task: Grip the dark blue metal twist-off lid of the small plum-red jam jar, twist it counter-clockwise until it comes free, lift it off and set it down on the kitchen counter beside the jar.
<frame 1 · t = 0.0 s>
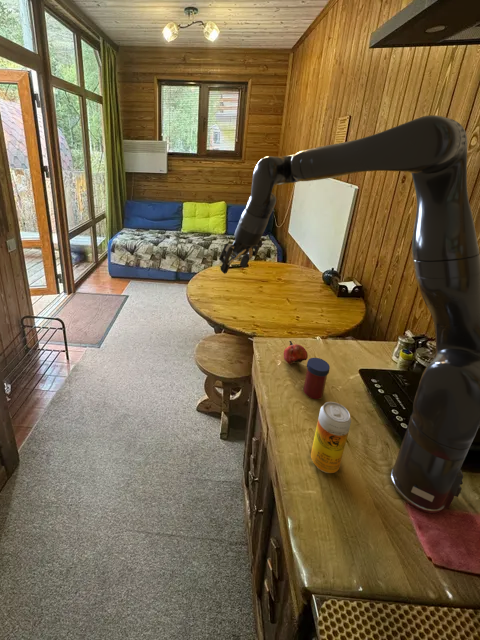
hand: (233, 268, 96), 31 cm above the kitchen counter, tool tilted 20°, fingers open, 8 cm apart
jar: (313, 392, 90), on the kitchen counter
beer can: (324, 462, 70), on the kitchen counter
lid: (318, 365, 87), point 10 cm above the kitchen counter, screwed on, not yet turned
pomegranate: (294, 364, 102), on the kitchen counter
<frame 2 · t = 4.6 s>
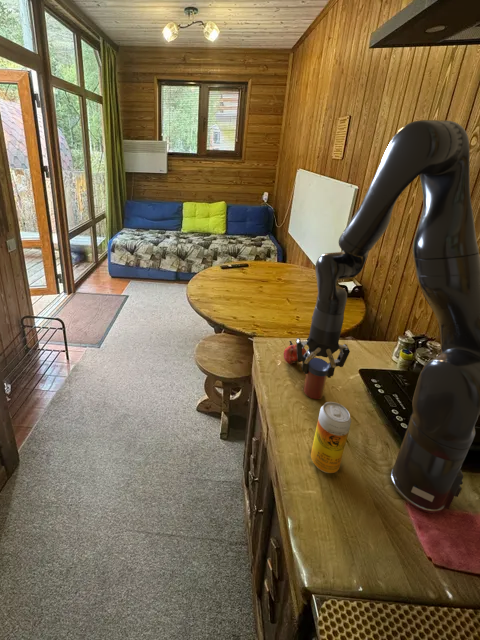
hand: (316, 373, 88), 7 cm above the kitchen counter, tool pointing down, fingers closed on lid, 5 cm apart
lid: (318, 365, 87), point 10 cm above the kitchen counter, screwed on, not yet turned, touching gripper
everything else where it was.
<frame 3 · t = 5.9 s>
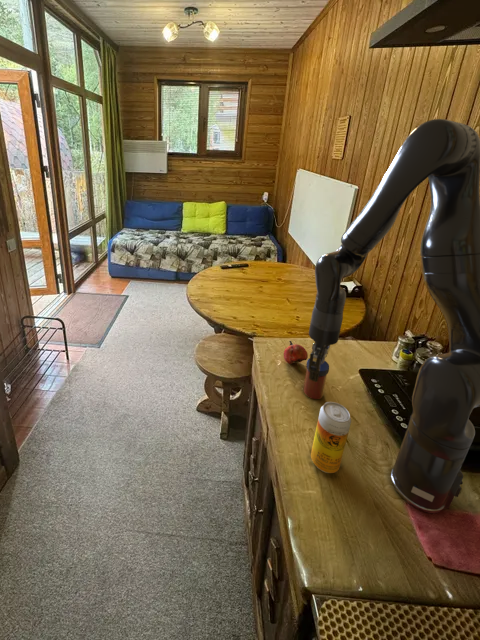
hand: (316, 373, 88), 7 cm above the kitchen counter, tool pointing down, fingers closed on lid, 5 cm apart
lid: (317, 364, 87), point 10 cm above the kitchen counter, turned 66° so far, risen 0.2 cm, still on its thread, touching gripper
everything else where it was.
when the fingers open (6 cm above the kitchen counter, at t = 7.0 s): lid stays where it is, point 10 cm above the kitchen counter.
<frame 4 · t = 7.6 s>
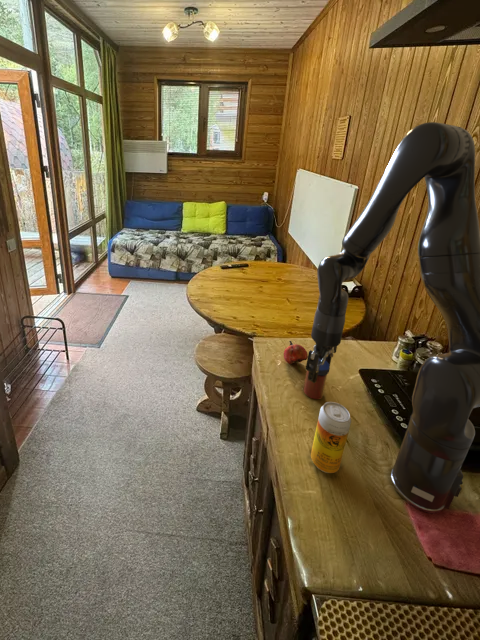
hand: (318, 373, 88), 7 cm above the kitchen counter, tool pointing down, fingers open, 8 cm apart
lid: (318, 364, 87), point 10 cm above the kitchen counter, turned 81° so far, risen 0.2 cm, still on its thread
everything else where it was.
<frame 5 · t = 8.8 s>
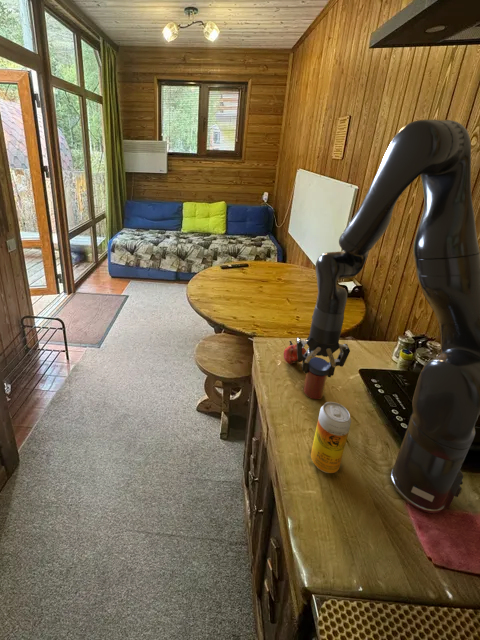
hand: (316, 373, 88), 7 cm above the kitchen counter, tool pointing down, fingers closed on lid, 5 cm apart
lid: (318, 364, 87), point 10 cm above the kitchen counter, turned 81° so far, risen 0.2 cm, still on its thread, touching gripper
everything else where it was.
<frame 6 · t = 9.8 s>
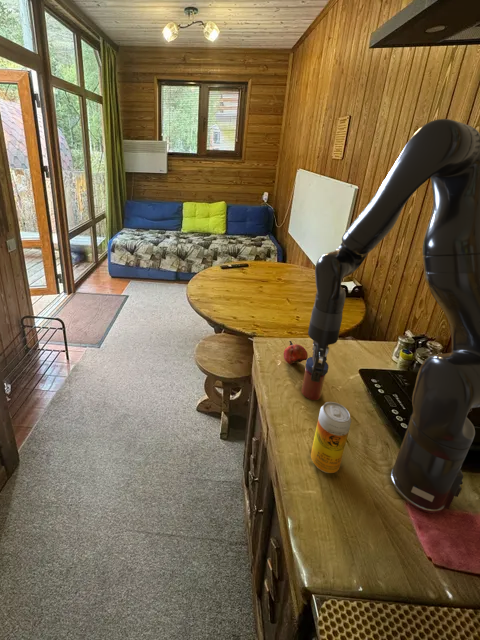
hand: (315, 373, 88), 7 cm above the kitchen counter, tool pointing down, fingers closed on lid, 5 cm apart
jar: (310, 393, 90), on the kitchen counter, touching gripper
lid: (317, 364, 86), point 10 cm above the kitchen counter, off its thread, touching gripper
everything else where it was.
when the fingers open (0 cm above the kitchen counter, at t = 19.0 s): lid drops 2 cm, point 1 cm above the kitchen counter.
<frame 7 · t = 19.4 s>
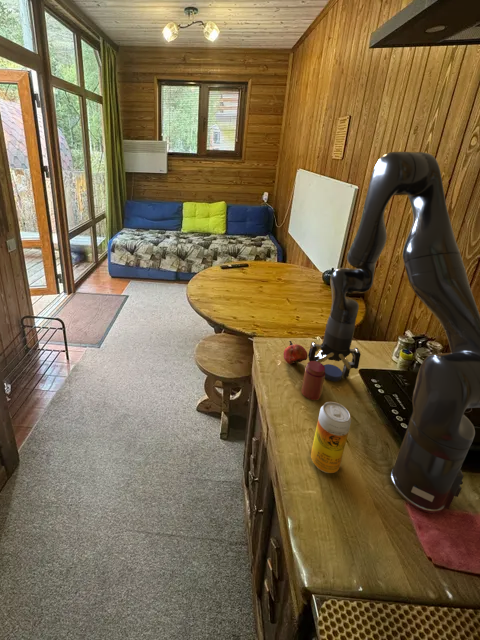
hand: (329, 374, 97), 0 cm above the kitchen counter, tool pointing down, fingers open, 8 cm apart
jar: (310, 393, 90), on the kitchen counter
lid: (332, 371, 97), point 1 cm above the kitchen counter, off its thread
everything else where it was.
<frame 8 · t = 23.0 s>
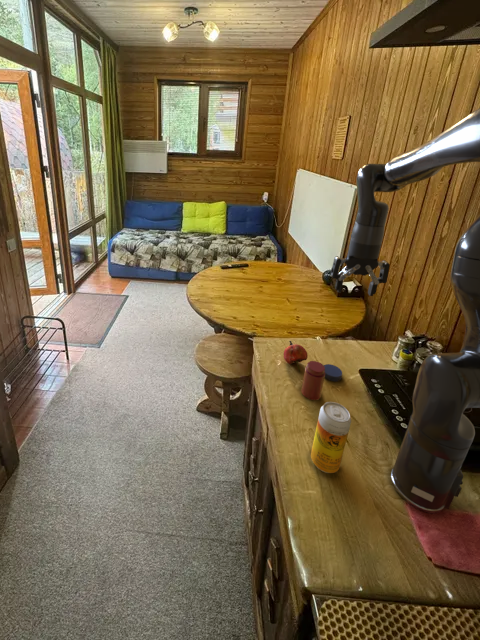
hand: (354, 293, 89), 28 cm above the kitchen counter, tool pointing down, fingers open, 8 cm apart
nothing on the kitchen counter moved.
at the end: lid inside the target area (0.1 cm from its centre), point 1.5 cm above the kitchen counter; lid point 1.5 cm above the kitchen counter; the gripper is holding nothing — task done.
